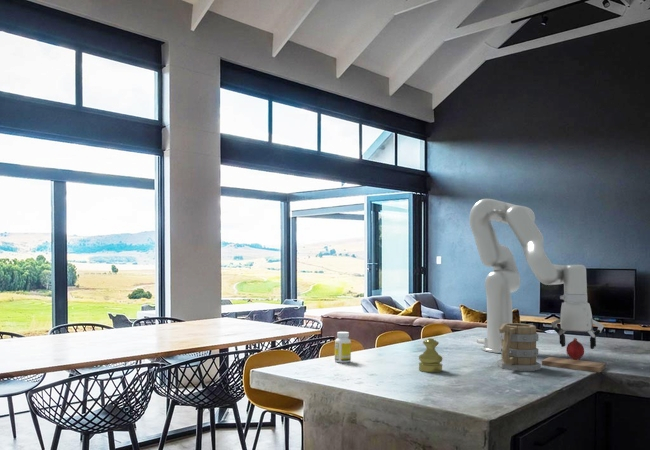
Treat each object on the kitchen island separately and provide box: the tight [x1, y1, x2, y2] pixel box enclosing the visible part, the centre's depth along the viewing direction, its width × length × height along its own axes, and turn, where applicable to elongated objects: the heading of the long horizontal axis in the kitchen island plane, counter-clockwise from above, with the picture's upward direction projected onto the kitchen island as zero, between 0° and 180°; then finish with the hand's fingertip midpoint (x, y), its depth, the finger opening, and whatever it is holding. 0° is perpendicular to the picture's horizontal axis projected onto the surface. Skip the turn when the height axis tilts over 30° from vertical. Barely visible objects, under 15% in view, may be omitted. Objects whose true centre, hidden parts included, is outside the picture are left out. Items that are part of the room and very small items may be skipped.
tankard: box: [496, 322, 542, 372], centre depth 181 cm, size 20×13×15 cm, turn 134°
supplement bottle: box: [334, 331, 352, 364], centre depth 187 cm, size 5×5×10 cm
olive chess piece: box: [418, 337, 443, 374], centre depth 175 cm, size 7×7×10 cm
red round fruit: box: [566, 337, 585, 360], centre depth 198 cm, size 6×6×8 cm
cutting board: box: [541, 356, 607, 373], centre depth 187 cm, size 18×10×2 cm, turn 54°
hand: (577, 347), depth 197 cm, fingers open, 9 cm apart
